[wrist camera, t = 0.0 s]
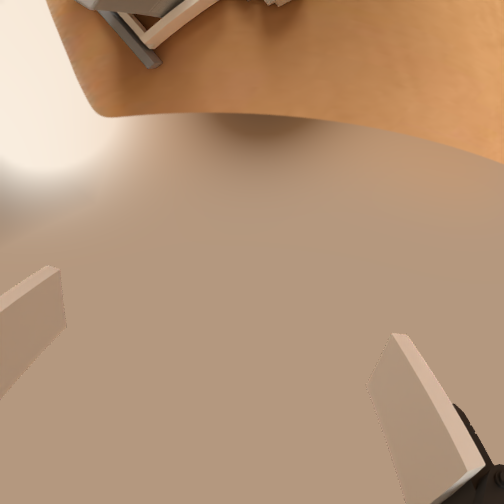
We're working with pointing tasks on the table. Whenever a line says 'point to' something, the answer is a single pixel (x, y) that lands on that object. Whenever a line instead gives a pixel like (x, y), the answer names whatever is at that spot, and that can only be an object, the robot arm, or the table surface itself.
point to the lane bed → (132, 39)
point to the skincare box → (133, 6)
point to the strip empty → (276, 2)
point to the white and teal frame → (166, 21)
